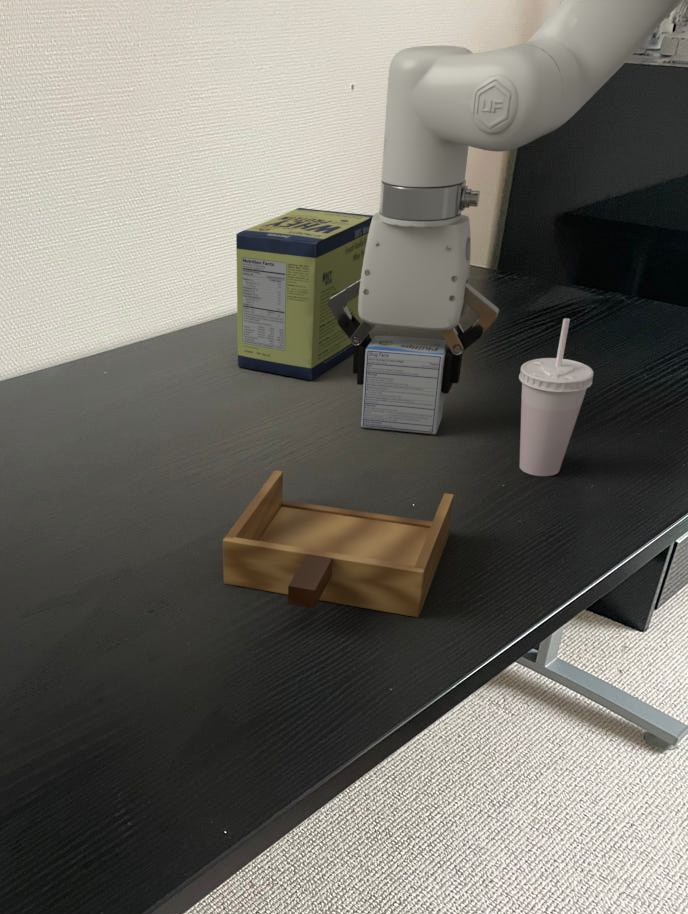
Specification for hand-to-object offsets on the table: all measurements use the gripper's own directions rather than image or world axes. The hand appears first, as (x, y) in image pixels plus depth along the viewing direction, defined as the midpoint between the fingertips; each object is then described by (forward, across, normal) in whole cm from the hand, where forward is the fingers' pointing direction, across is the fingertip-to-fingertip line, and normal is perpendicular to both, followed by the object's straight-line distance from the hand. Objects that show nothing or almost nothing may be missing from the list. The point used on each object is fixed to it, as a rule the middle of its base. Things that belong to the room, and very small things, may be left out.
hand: (404, 383), depth 101 cm
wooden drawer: (+4, -1, +31) cm, 32 cm away
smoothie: (+5, -15, +6) cm, 17 cm away
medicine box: (+5, 0, 0) cm, 5 cm away
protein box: (+5, +16, -18) cm, 25 cm away
